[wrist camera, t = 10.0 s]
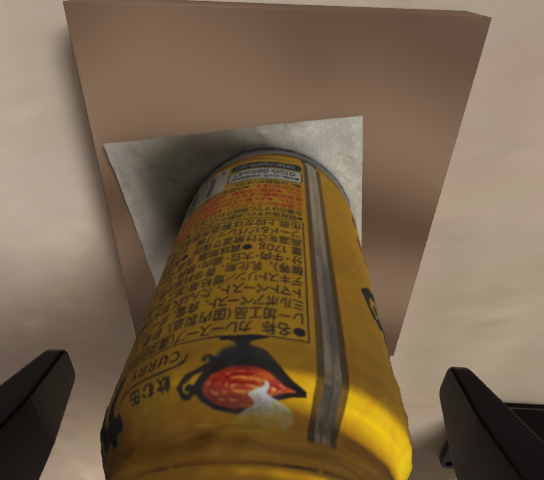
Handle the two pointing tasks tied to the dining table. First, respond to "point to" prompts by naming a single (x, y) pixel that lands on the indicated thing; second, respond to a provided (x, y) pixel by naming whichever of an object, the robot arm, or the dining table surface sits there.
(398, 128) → the stand
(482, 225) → the dining table surface
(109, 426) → the condiment
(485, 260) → the dining table surface
